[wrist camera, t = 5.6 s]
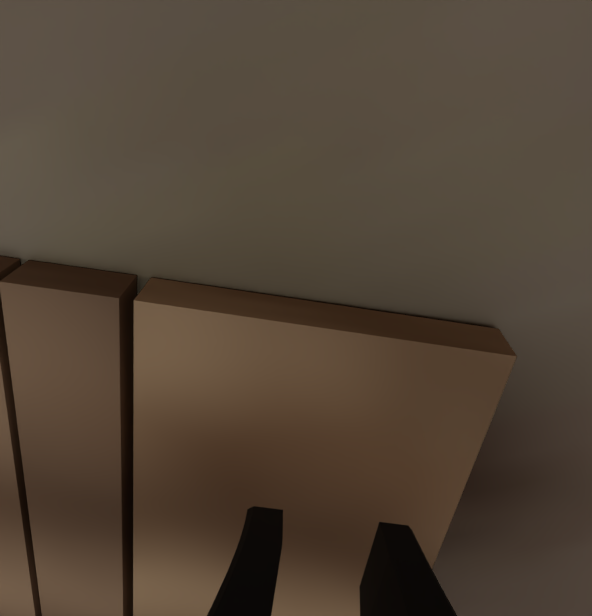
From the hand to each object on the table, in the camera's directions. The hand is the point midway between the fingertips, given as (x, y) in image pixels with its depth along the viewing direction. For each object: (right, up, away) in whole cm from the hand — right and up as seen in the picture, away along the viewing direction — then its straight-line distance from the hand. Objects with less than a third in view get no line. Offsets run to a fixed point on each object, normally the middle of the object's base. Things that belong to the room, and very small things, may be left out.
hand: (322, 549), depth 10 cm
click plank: (-1, -1, +4) cm, 4 cm away
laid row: (-8, 0, +4) cm, 9 cm away
